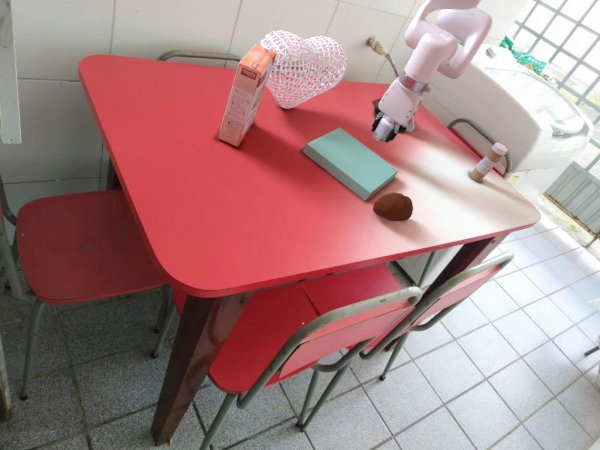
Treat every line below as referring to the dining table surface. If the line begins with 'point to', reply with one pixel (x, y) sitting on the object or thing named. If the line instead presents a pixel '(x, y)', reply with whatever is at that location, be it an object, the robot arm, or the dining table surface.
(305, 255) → the dining table surface
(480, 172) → the sprinkles bottle
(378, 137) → the pill bottle
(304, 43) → the heart
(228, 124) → the cracker box
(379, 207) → the potato
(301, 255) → the dining table surface
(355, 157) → the foam pad
